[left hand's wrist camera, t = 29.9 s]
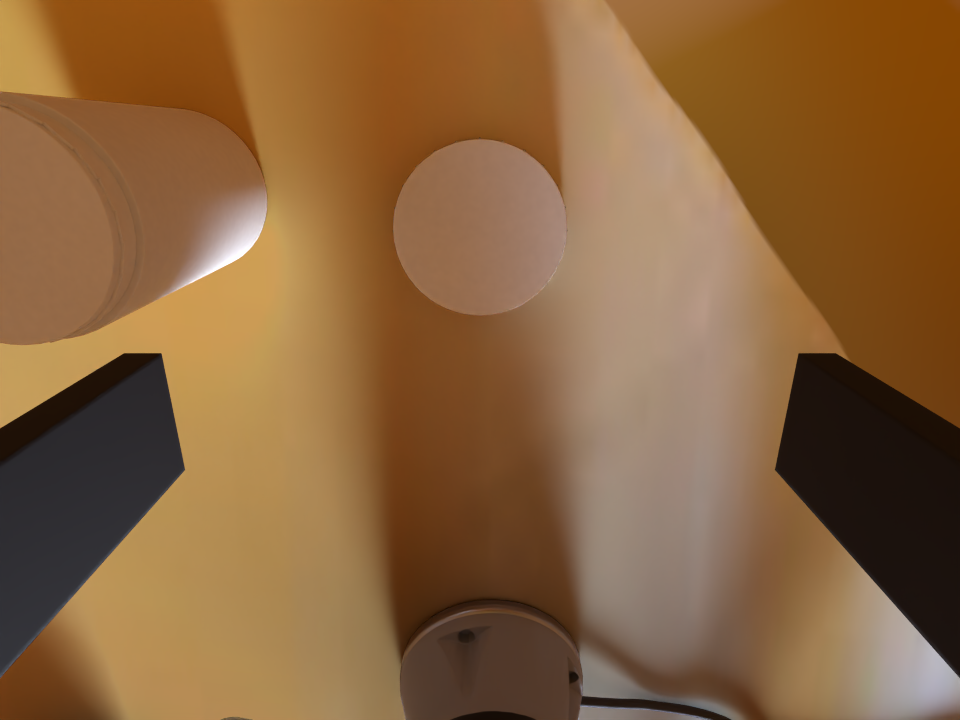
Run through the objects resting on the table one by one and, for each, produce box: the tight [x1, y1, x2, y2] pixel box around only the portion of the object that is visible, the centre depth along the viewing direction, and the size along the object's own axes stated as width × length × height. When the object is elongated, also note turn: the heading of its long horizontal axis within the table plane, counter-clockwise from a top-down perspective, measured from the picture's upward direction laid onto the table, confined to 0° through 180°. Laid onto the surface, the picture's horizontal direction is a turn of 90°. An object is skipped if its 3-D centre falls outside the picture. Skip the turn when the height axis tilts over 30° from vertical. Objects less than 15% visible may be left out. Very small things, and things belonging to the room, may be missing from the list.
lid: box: [393, 138, 567, 315], centre depth 37 cm, size 11×11×2 cm
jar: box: [0, 92, 267, 345], centre depth 29 cm, size 10×10×16 cm
